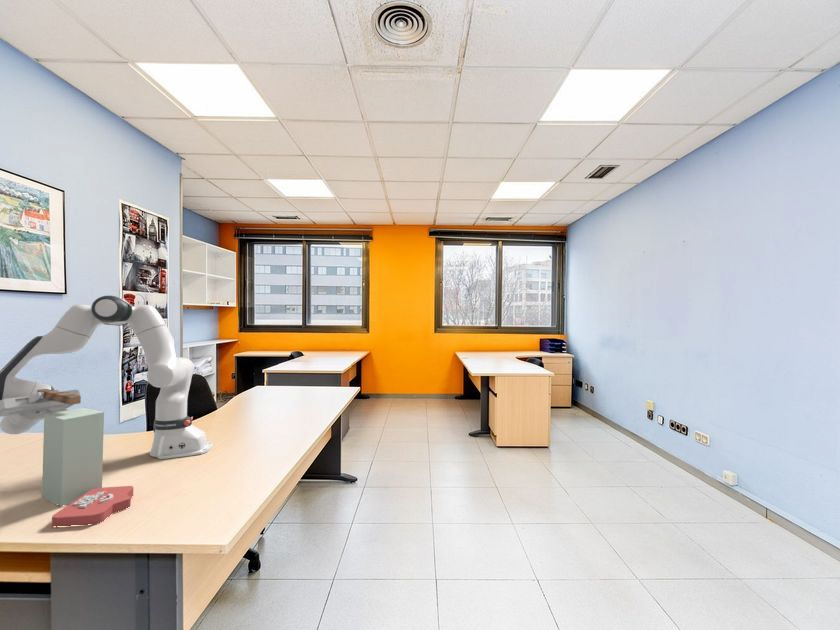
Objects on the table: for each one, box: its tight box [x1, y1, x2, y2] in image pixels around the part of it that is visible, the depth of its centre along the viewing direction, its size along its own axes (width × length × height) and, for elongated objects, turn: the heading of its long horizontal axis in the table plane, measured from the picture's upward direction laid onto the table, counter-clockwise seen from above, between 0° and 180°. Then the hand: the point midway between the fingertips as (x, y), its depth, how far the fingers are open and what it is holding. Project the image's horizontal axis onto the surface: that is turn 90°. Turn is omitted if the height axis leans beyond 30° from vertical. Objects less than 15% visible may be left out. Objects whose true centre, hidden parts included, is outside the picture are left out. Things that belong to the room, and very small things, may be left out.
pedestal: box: [41, 407, 105, 507], centre depth 116 cm, size 12×10×26 cm
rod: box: [37, 389, 82, 406], centre depth 121 cm, size 22×2×2 cm, turn 66°
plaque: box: [51, 485, 134, 527], centre depth 108 cm, size 18×4×15 cm
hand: (49, 392), depth 123 cm, fingers closed on rod, 2 cm apart
